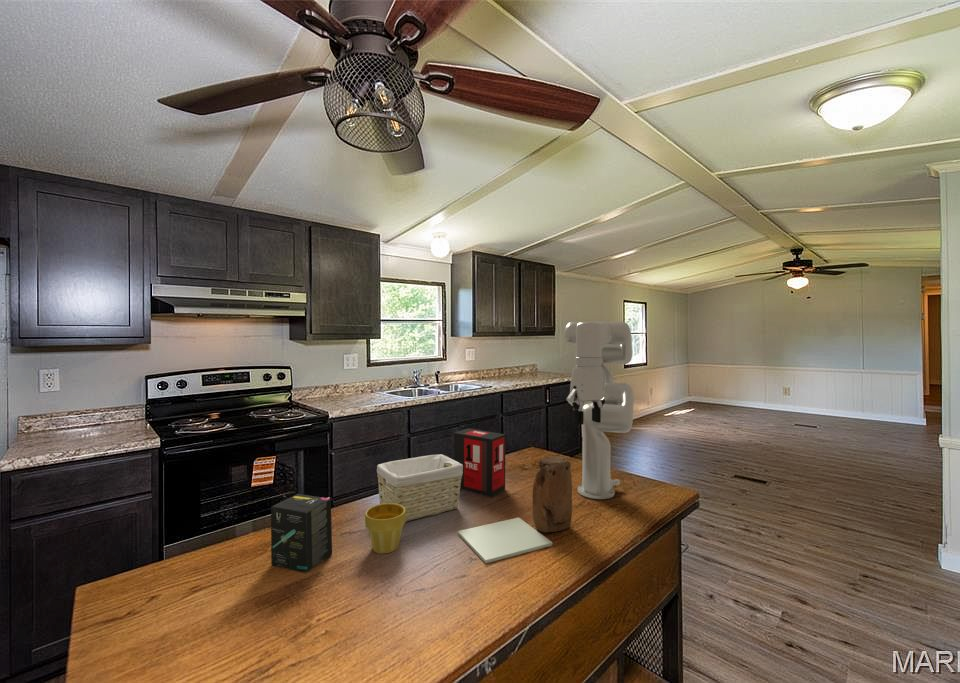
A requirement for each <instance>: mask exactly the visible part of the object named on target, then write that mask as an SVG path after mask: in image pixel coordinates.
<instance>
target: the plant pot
mask: <svg viewBox="0 0 960 683" xmlns="http://www.w3.org/2000/svg"><path fill="white" fill-rule="evenodd" d="M405 519H406V510H405V508H404V507H403V506H402V505H399V504H395V503H384V504H380V503H379V504H375V505H373V506H371V507H369V508H367V510H366V511H365V513H364V522H365V528H366V530H368V532H369V533H368V534H369V537H370V542H371V547H372V550H373V552H375V553H376V554H389V553H392V552H394V551H396V550H397V549H398V548H399V545H400V542H401V541H400V540H401V535H402V533H403V532H402V530H403V527H404V525H405V524H406V522H405Z"/></svg>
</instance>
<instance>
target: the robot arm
mask: <svg viewBox="0 0 960 683" xmlns="http://www.w3.org/2000/svg"><path fill="white" fill-rule="evenodd" d="M563 334H564V340H565V343H567V344H568V345H570V346H575V367H573V368H572V371H571V376H570V386H569V388H570V389H569V394H568V396H567V397H566V398H565V400H566V402H568V404H570V406H571V407H572V410H573V411H574V423H575V424H577V425H581V434H582V454H581V455H582V461H581V462H582V468H581V470H582V471H581V472H582V473H581V474H582V477H581V478H582V479H581V482H582V483H581V485H579V486H577V493H578V494H579V495H581V497H582V496H583V497H585V498H589V499H593V500H607V499H611V498H614V496H615V494H616V493H615V489H614V488H613V487H614V486H619V485H620V484H621V480H620V479H619V478H617V479H612V478H611V449H612V448H611V447H612V446H611V442H610V440H609V438H608V436H607V435H606V434H605V433H606V432H607V433H621V434H626V433H629V432H630V431H631V430H632V427H633V424H634V423H633V420H634V398H635V397H634V390H633V388H632V385H630V384H629V383H626V382H614V375H613V373H612V371H611V370H610V369H609V368H608V367H607V366H605V364H607V365H627V364H629V363H631V361H632V360H633V345H632V344H633V342H632V331H631V328H630V325H629V324H628V323H627V322H625V321H601V320H595V321H594V320H591V321H590V320H589V321H570V322H568V323H567V324H566V326H565V328H564V332H563ZM585 402H588V403H586V404H585ZM604 432H605V433H604Z"/></svg>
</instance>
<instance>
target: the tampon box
mask: <svg viewBox="0 0 960 683" xmlns="http://www.w3.org/2000/svg"><path fill="white" fill-rule="evenodd" d="M332 530H333V529H332V499H331V498H329V497H322V496H313V495H308V494H301V493H297V494H295V495H293V496H290V497H289V498H286V499H284V500H282V501H280V502H279V503H276V504H274V505H272V506H271V507H270V539H271V540H270V546H271V548H270V550H271V551H270V553H271V556H270V557H271V560H270V562H271V564H270V565H271V566H272V567H276V568H281V569H287V570H289V571H290V570H291V571H295V572H301V573H304V574H307V573H309V572H310V571H311V570H313V569H314V568H315V567H317V566H319V565H320V564H321V563H322V562H323V561H325V560H326V559H327V558H329V557H330V556H331V555H332V554H333V540H332V539H333V537H332V536H333V534H332V533H333V532H332Z"/></svg>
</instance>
